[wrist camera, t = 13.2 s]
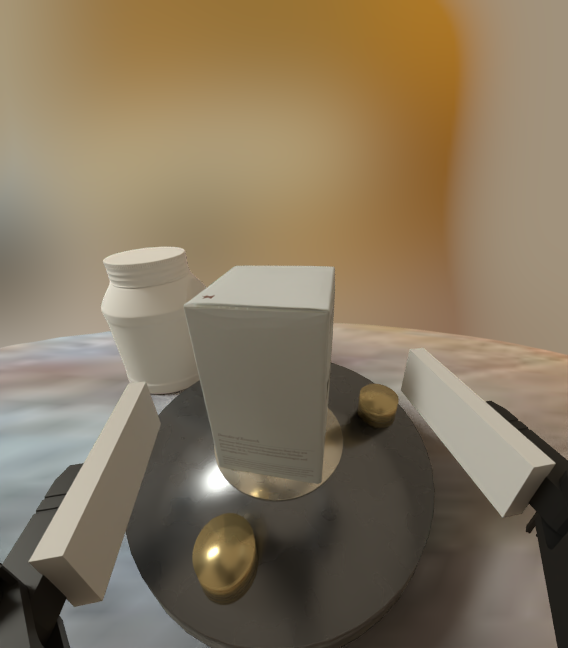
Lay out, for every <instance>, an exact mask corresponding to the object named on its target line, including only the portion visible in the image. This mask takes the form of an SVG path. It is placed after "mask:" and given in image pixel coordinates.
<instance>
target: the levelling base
mask: <svg viewBox="0 0 568 648" xmlns="http://www.w3.org/2000/svg"><path fill="white" fill-rule="evenodd" d="M158 417H159V420H160V423H161V425H160V428H159V431H158V434H157V437H156V440H155V443H154V446H153V449H152V452H151V455H150V458H149V461H148V464H147V467H146V471H145V474H144V477H143V480H142V483H141V486H140V489H139V492H138V495H137V498H136V501H135V504H134V507H133V510H132V513H131V516H130V519H129V522H128V525H127V528H126V535H127V539H128V543H129V547H130V551H131V554H132V556H133V558H134V561H135V563H136V565H137V567H138V570H139V572H140V574H141V576H142V578H143V579H144V581H145V582H146V584H147V585H148V587H149V589H150V590H151V592H152V593H153V594H154V596H155V597H156V599H157V600H158V602H159V603H160V604H161V606H162V607H163V609H164V610H165V611H166V613H167V614H168V615H169V616H170V617H171V618H172V619H173V620H174V621H175V622H176V623H177V624H178V625H180V626H181V627H182V628H183V629H184V630H185V631H186V632H187V633H188V634H190V635H192V636H193V637H195V638H196V639H198V640H200V641H201V642H203V643H204V644H206V645H208V646H209V647H211V648H339V647H341V646H343V645H345V644H347V643H349V642H351V641H353V640H355V639H357V638H358V637H359V636H361V635H362V634H363V633H364V632H366V631H367V630H368V629H370V628H371V627H372V626H373V625H375V624H376V623H377V622H379V621H380V620H381V619H382V618H383V616H384V615H385V614H386V613H387V612H388V611H389V610H390V608H391V607H392V606H393V605H394V604H395V603H396V602H397V600H398V599H399V598H400V596H401V594H402V593H403V591H404V590H405V588H406V586H407V585H408V583H409V581H410V580H411V578H412V576H413V574H414V571H415V569H416V567H417V564H418V562H419V559H420V557H421V554H422V552H423V549H424V547H425V544H426V541H427V539H428V536H429V532H430V527H431V522H432V517H433V512H434V483H433V475H432V468H431V465H430V461H429V457H428V454H427V451H426V448H425V446H424V443H423V441H422V439H421V436H420V434H419V433H418V431H417V429H416V427H415V426H414V424H413V422H412V421H411V419H410V418H409V417H408V415H407V414H406V413H405V411H404V410H403V409H402V408H401V407H400V405H399V404H398V396H397V394H396V393H395V392H394V391H393V390H392V389H390V388H388V387H386V386H384V385H380V384H374V383H373V382H372V381H370V380H369V379H367V378H365V377H363V376H362V375H360V374H358V373H356V372H354V371H352V370H349V369H347V368H345V367H342V366H339V365H336V364H334V363H331V367H330V383H329V397H328V410H327V423H326V435H325V446H324V458H323V470H322V481H321V483H319V484H316V483H308V482H302V481H296V480H290V479H285V478H278V477H273V476H267V475H262V474H255V473H251V472H245V471H239V470H234V469H228V468H224V467H220V466H219V462H218V457H217V453H216V449H215V444H214V440H213V435H212V431H211V426H210V422H209V418H208V413H207V409H206V405H205V400H204V396H203V391H202V387H201V382H200V380H199V381H197V382H196V383H194V384H193V385H191V386H190V387H189V388H187V389H186V390H184V391H183V392H182V393H181V394H180V395H178V396H177V397H176V398H175V399H174V400H173V401H172V402H171V403H170V404H169V405H167V406H166V407H165V408H164V409H163V411H162V412H161V413H160V414H159V415H158Z"/></svg>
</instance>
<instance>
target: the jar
mask: <svg viewBox="0 0 568 648" xmlns="http://www.w3.org/2000/svg"><path fill="white" fill-rule="evenodd" d="M103 263H104V266H105V268H106V269H107V270H106V271H107V273H108V278H109V279H110V285H109V287H108V289H107V291H106V293H105V295H104V298H103V302H102V306H101V310H102V313H103V315H104V318H105V319H106V321H107V322H108V325H109V328H110V330H111V333H112V335H113V338H114V340H115V343H116V346H117V348H118V351H119V353H120V356H121V358H122V361H123V364H124V366H125V369H126V373H127V376H128V379H129V381H130V383H139V382H146V383H147V386H148V389H149V392H150V394H167V393H173V392H177V391H181V390H184V389H187V388H189V387H190V386H191V385H193V384H194V383H196V382H197V381H199V380H200V378H199V373H198V369H197V365H196V360H195V356H194V351H193V347H192V342H191V338H190V334H189V329H188V325H187V320H186V316H185V311H184V304H185V303H187V302H188V301H190V300H191V299H192V298H194V297H195V296H196V295H198V294H199V293H200V292H202V291H203V290H204V289H206V286H205V285H204V284H203V283H202V282H201V281H200V280H199V279H198V278H197V277H196V276H195V275H194V274H193V273H192V272H191V271H190V269H189V267H188V262H187V257H186V253H185V250H184V249H182V248H178V247H152V248H142V249H135V250H130V251H125V252H121V253H117V254H114V255H111V256H108V257H106V258H105V259H104V260H103Z"/></svg>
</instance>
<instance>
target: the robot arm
mask: <svg viewBox="0 0 568 648" xmlns="http://www.w3.org/2000/svg"><path fill="white" fill-rule="evenodd" d="M401 391H402V392H403V393H404V395H405V396H406V397H407V398H408V400H409V401H410V402H411V403H412V405H413V406H414V407H415V408H416V410H417V411H418V412H419V413H420V415H421V416H422V417H423V418H424V420H425V421H426V422H427V423H428V425H429V426H430V427H431V428H432V430H433V431H434V432H435V433H436V435H437V436H438V437H439V438H440V440H441V441H442V442H443V443H444V445H445V446H446V447H447V448H448V450H449V451H450V452H451V454H452V455H453V456H454V457H455V459H456V460H457V461H458V462H459V464H460V465H461V466H462V467H463V469H464V470H465V471H466V472H467V474H468V475H469V476H470V477H471V479H472V480H473V481H474V482H475V484H476V485H477V486H478V487H479V489H480V490H481V491H482V492H483V494H484V495H485V496H486V497H487V499H488V500H489V501H490V502H491V504H492V505H493V506H494V507H495V509H496V510H497V511H498V512H499V514H500V515H501V516H502V518H503V517H508V516H513V515H518V514H522V513H523V511H524V510H525V508H526V507H527V505H528V504H530V505H531V506H532V507H533V508H534V509H535V510H536V513H535V515H534V516H533V517H532V519H531V520H530V522H529V523H528V524H527V526H526V532H528V533H531V531H532V530H533V529H534V527H535V526H536V531H537V534H536V536H537V537H538V542H539V548H540V553H541V559H542V564H543V570H544V575H545V580H546V586H547V591H548V597H549V602H550V608H551V613H552V619H553V624H554V630H555V635H556V641H557V646H558V648H568V460H566V459H565V458H564V457H563V456H562V455H560V454H559V453H558V452H557V451H556V450H554V449H553V448H552V447H551V446H550V445H548V444H547V443H546V442H545V441H544V440H542V439H541V438H540V437H539V436H538V435H536V434H535V433H534V432H533V431H532V430H529V429H528V427H527V426H526V425H524V424H523V423H522V422H521V421H518V419H517V418H516V417H515V416H514V415H512V414H511V413H510V412H509V411H508V410H506V409H505V408H503V407H501V406H499V405H498V404H496V403H494V402H492V401H486V402H485V401H484V400H483V399H482V398H480V397H479V396H478V395H477V394H476V393H475V392H474V391H472V390H471V389H470V388H469V387H468V386H467V385H466V384H464V383H463V382H462V381H461V380H460V379H459V378H457V377H456V376H455V375H454V374H453V373H452V372H451V371H449V370H448V369H447V368H446V367H445V366H444V365H443V364H441V363H440V362H439V361H438V360H437V359H436V358H435V357H433V356H432V355H431V354H430V353H429V352H428V351H427V350H425V349H424V348H417V349H410V350H409V355H408V359H407V364H406V369H405V374H404V378H403V383H402V388H401ZM160 425H161V423H160V420H159V417H158V414H157V411H156V409H155V406H154V403H153V400H152V397H151V395H150V392H149V389H148V386H147V383H146V382H139V383H130V384H128V385H127V387H126V389H125V391H124V393H123V394H122V396H121V398H120V400H119V401H118V403H117V405H116V407H115V409H114V410H113V412H112V414H111V416H110V418H109V419H108V421H107V423H106V425H105V426H104V428H103V430H102V432H101V434H100V435H99V437H98V439H97V441H96V442H95V444H94V446H93V448H92V450H91V451H90V453H89V455H88V457H87V458H86V460H85V462H84V463H82V464H76V465H70V466H69V467H68V468H67V469H66V470H65V471H64V472H63V473H62V474H61V475H60V476H59V477H58V478H57V479H56V480H55V481H54V483H53V484H52V486H51V488H50V489H49V491H48V492H47V494H46V496H45V499H44V500H42V502H41V503H40V505H39V507H38V508H37V510H36V514H34V515H33V516H32V518H31V519H30V521H29V523H28V524H27V526H26V527H25V529H24V531H23V532H22V534H21V535H20V537H19V539H18V540H17V542H16V543H15V545H14V547H13V548H12V550H11V551H10V553H9V555H8V556H7V558H6V559H5V561H4V562H3V564H1V563H0V648H70V646H69V642H68V638H67V635H66V631H65V627H64V624H63V620H62V619H61V617H60V616H59V615H60V612H61V610H62V607H63V605H64V603H65V600H66V599H67V600H68V601H69V602H70V603H71V604H72V605H73V606H74V607H76V606H80V605H85V604H90V603H95V602H100V601H103V598H104V595H105V592H106V589H107V586H108V583H109V580H110V577H111V574H112V571H113V568H114V565H115V561H116V558H117V555H118V552H119V549H120V546H121V543H122V540H123V537H124V534H125V531H126V528H127V525H128V522H129V519H130V516H131V513H132V510H133V507H134V504H135V501H136V498H137V495H138V492H139V489H140V486H141V483H142V480H143V477H144V474H145V471H146V467H147V464H148V461H149V458H150V455H151V452H152V449H153V446H154V443H155V440H156V437H157V434H158V431H159V428H160Z"/></svg>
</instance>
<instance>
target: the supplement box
mask: <svg viewBox="0 0 568 648" xmlns="http://www.w3.org/2000/svg"><path fill="white" fill-rule="evenodd" d="M334 296H335V268H334V267H324V266H235V267H233V268H232V269H230V270H229V271H228V272H227V273H225V274H224V275H223V276H222V277H220V278H219V279H218V280H216V281H215V282H213V283H212V284H211V285H210V286H209V287H207V288H206V289H204V290H203V291H202V292H200V293H199V294H198V295H196V296H195V297H194V298H192V299H191V300H190V301H188V302H187V303H185V304H184V311H185V316H186V320H187V325H188V329H189V334H190V338H191V342H192V347H193V351H194V356H195V360H196V365H197V369H198V373H199V378H200V382H201V387H202V391H203V396H204V400H205V405H206V409H207V413H208V418H209V422H210V426H211V431H212V435H213V440H214V444H215V449H216V453H217V457H218V462H219V466H220V467H224V468H228V469H234V470H239V471H245V472H251V473H255V474H262V475H267V476H273V477H278V478H285V479H290V480H296V481H302V482H308V483H316V484H319V483H321V481H322V470H323V458H324V446H325V435H326V423H327V410H328V397H329V383H330V367H331V351H332V336H333V317H334Z"/></svg>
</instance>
